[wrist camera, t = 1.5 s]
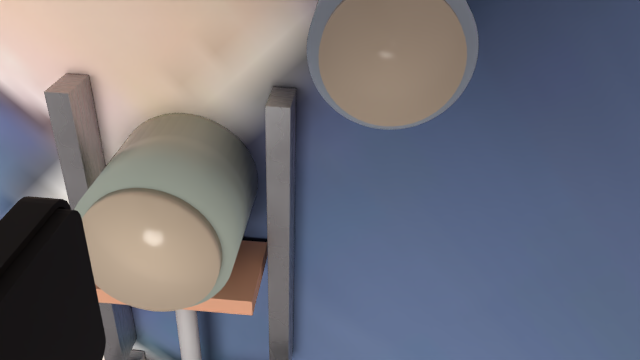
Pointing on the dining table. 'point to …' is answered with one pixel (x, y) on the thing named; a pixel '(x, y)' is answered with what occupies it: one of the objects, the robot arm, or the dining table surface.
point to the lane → (280, 116)
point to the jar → (391, 58)
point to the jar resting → (169, 213)
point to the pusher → (219, 297)
